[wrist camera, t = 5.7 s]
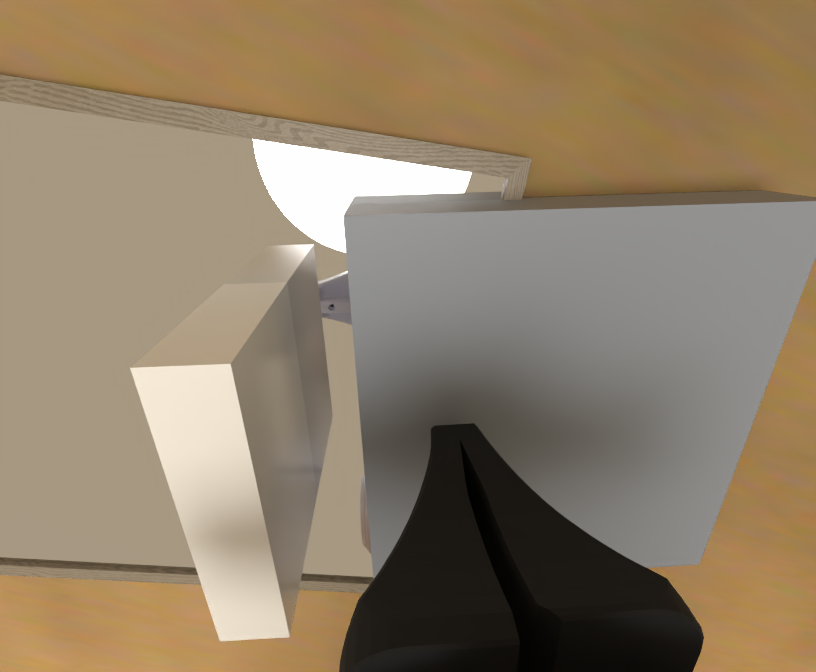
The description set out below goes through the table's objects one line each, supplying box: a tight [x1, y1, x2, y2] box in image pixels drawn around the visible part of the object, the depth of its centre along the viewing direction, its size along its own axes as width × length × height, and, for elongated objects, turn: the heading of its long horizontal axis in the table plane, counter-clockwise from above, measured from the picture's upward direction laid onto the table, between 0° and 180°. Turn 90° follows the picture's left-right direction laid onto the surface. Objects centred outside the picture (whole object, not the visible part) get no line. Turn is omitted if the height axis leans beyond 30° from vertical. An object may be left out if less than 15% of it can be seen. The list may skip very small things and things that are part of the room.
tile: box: [130, 282, 317, 641], centre depth 13 cm, size 9×6×2 cm
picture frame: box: [0, 75, 532, 593], centre depth 15 cm, size 19×1×28 cm
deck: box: [343, 190, 816, 579], centre depth 15 cm, size 14×13×2 cm
